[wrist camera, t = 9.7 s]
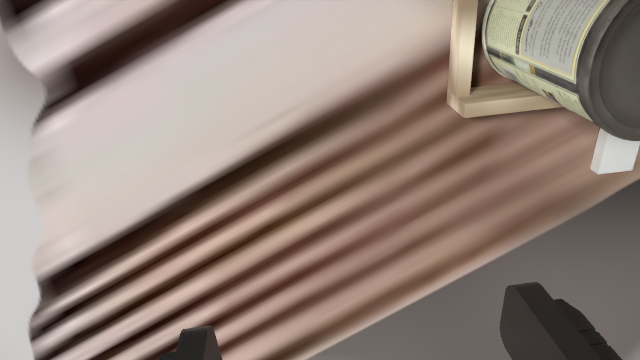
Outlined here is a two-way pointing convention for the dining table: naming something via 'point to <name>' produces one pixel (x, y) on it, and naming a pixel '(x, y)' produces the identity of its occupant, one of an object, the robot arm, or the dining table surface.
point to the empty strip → (613, 154)
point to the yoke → (460, 73)
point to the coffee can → (572, 55)
